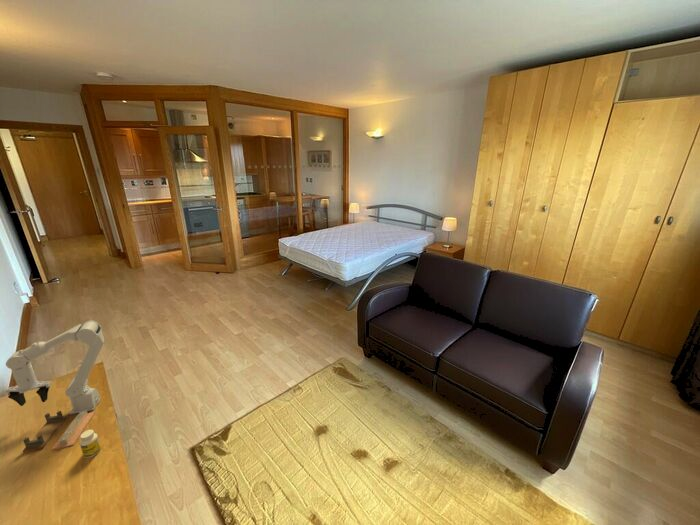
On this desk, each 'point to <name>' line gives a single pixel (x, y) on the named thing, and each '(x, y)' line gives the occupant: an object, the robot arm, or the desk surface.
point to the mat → (75, 433)
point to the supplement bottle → (89, 443)
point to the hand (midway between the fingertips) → (34, 402)
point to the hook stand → (44, 433)
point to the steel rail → (73, 428)
